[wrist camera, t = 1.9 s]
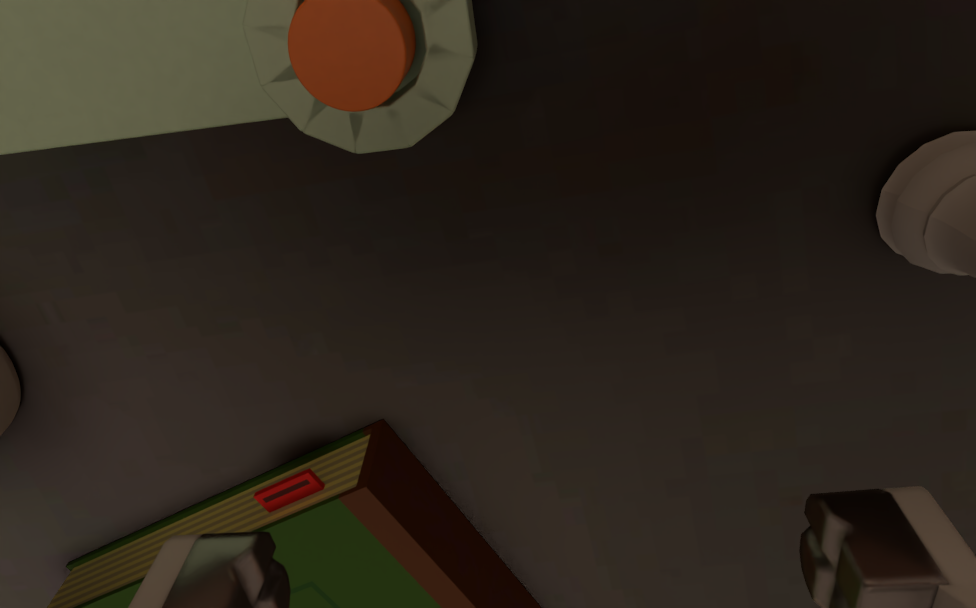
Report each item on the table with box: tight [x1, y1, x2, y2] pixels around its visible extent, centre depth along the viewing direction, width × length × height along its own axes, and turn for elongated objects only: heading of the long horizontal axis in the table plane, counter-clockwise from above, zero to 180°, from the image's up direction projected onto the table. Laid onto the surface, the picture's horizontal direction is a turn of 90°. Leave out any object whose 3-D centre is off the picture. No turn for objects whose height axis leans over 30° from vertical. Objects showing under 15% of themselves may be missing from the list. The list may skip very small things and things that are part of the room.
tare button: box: [288, 0, 416, 112], centre depth 17 cm, size 3×3×2 cm
